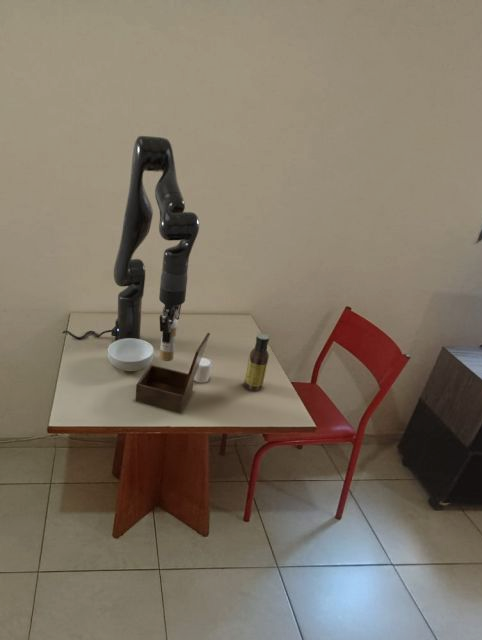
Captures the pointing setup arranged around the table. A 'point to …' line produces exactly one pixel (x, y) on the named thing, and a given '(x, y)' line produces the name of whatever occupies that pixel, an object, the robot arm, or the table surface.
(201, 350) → the chest lid
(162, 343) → the sprinkles bottle
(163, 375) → the chest
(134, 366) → the cereal bowl
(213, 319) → the table surface
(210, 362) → the shot glass
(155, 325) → the table surface
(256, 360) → the sauce bottle
